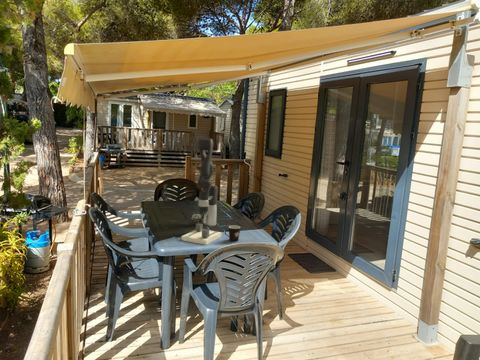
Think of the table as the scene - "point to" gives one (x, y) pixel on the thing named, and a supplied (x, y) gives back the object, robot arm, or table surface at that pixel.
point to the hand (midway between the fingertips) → (202, 227)
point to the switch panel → (197, 237)
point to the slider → (205, 233)
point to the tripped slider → (199, 227)
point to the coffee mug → (233, 233)
